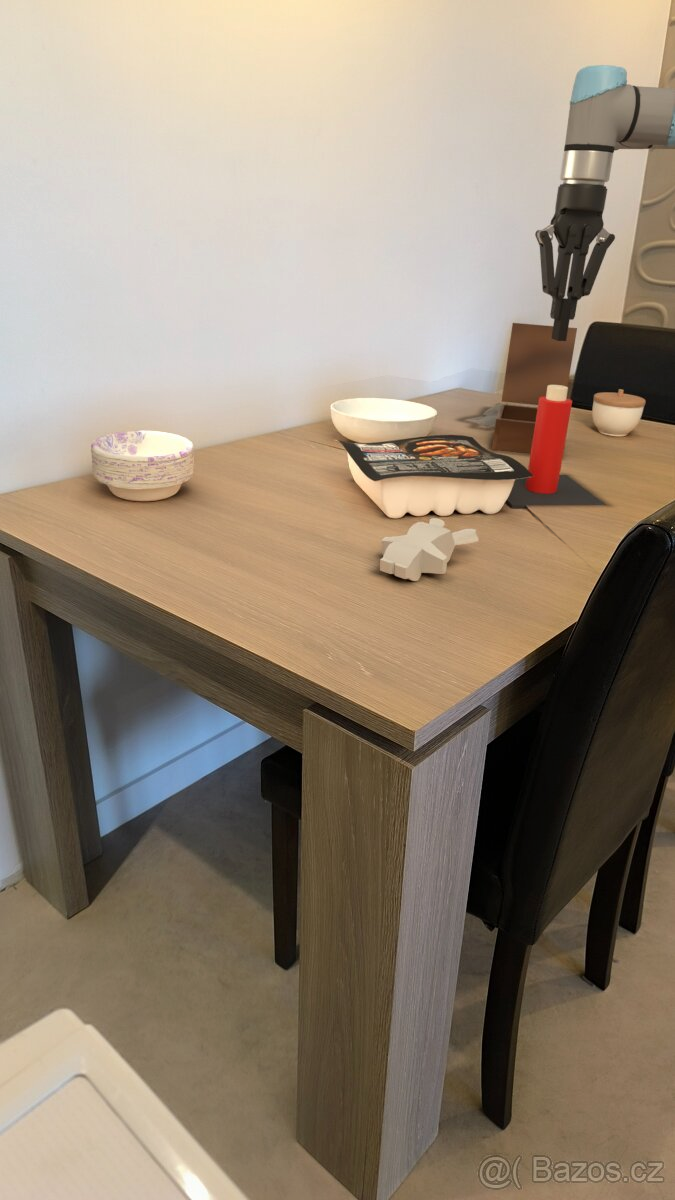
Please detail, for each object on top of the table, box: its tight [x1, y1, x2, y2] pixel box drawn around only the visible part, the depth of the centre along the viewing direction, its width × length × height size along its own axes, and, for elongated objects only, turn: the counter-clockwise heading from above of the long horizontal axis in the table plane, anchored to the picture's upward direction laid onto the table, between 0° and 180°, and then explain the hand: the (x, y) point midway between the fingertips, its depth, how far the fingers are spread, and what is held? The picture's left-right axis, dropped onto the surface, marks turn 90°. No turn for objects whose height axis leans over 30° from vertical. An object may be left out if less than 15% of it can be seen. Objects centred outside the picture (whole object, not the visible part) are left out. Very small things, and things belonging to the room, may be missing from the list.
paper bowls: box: [90, 430, 195, 502], centre depth 127 cm, size 15×15×8 cm
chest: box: [491, 403, 538, 455], centre depth 164 cm, size 15×13×7 cm
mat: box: [505, 474, 607, 509], centre depth 139 cm, size 16×16×1 cm
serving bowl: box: [330, 397, 438, 443], centre depth 162 cm, size 21×21×7 cm
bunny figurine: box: [379, 517, 480, 582], centre depth 107 cm, size 10×5×15 cm
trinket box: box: [591, 388, 646, 437], centre depth 179 cm, size 11×11×9 cm
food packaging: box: [334, 434, 533, 520], centre depth 131 cm, size 25×8×23 cm
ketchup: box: [525, 385, 573, 494], centre depth 135 cm, size 5×5×17 cm
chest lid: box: [501, 322, 578, 406], centre depth 167 cm, size 15×13×1 cm
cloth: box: [465, 402, 509, 429], centre depth 186 cm, size 26×14×2 cm, turn 148°
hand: (558, 339), depth 139 cm, fingers closed
